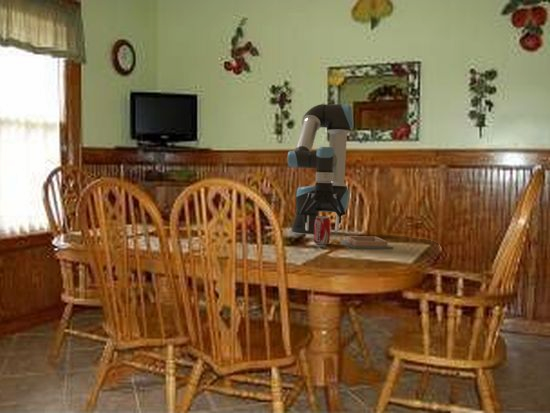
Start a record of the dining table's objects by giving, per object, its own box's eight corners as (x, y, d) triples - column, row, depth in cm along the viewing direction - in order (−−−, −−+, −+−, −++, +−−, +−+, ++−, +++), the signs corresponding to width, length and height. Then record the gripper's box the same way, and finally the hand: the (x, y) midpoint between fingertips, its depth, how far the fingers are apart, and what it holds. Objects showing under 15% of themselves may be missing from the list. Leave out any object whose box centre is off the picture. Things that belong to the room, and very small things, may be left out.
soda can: (330, 245, 251) (331, 218, 250) (313, 244, 252) (314, 217, 250) (328, 243, 258) (330, 216, 257) (313, 242, 259) (314, 215, 257)
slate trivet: (340, 242, 262) (340, 235, 261) (377, 242, 265) (378, 236, 265) (352, 248, 244) (352, 241, 244) (392, 249, 247) (393, 242, 247)
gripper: (298, 181, 247) (296, 231, 248) (354, 183, 251) (351, 232, 253) (294, 181, 254) (292, 229, 256) (348, 182, 258) (346, 229, 260)
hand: (321, 230), depth 254 cm, fingers open, 13 cm apart
